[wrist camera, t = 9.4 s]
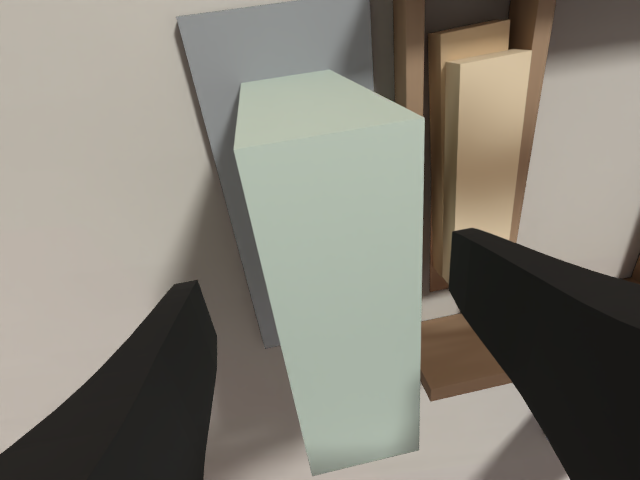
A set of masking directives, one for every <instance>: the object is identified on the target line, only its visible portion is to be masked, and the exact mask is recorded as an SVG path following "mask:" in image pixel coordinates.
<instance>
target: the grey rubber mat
mask: <svg viewBox="0 0 640 480" xmlns="http://www.w3.org/2000/svg"><path fill="white" fill-rule="evenodd" d="M176 18H177V22H178V26H179V29H180V33H181V37H182V41H183V44H184V48H185V52H186V55H187V59H188V63H189V67H190V70H191V74H192V78H193V82H194V85H195V89H196V93H197V97H198V100H199V104H200V108H201V111H202V115H203V119H204V123H205V126H206V130H207V134H208V138H209V141H210V145H211V149H212V153H213V156H214V160H215V164H216V168H217V171H218V175H219V179H220V182H221V186H222V190H223V194H224V197H225V201H226V205H227V209H228V212H229V216H230V220H231V224H232V227H233V231H234V235H235V239H236V242H237V246H238V250H239V253H240V257H241V261H242V265H243V268H244V272H245V276H246V280H247V283H248V287H249V291H250V295H251V298H252V302H253V306H254V309H255V313H256V317H257V321H258V324H259V328H260V332H261V336H262V339H263V343H264V347H265V349H266V348H271V347H276V346H280V340H279V336H278V332H277V328H276V324H275V320H274V316H273V311H272V307H271V303H270V299H269V295H268V291H267V287H266V282H265V278H264V274H263V270H262V266H261V262H260V257H259V253H258V249H257V245H256V241H255V237H254V233H253V228H252V224H251V220H250V216H249V212H248V208H247V204H246V199H245V195H244V191H243V187H242V183H241V179H240V175H239V170H238V166H237V162H236V158H235V154H234V141H235V132H236V123H237V115H238V106H239V97H240V88H241V83H245V82H251V81H258V80H264V79H271V78H277V77H284V76H290V75H297V74H303V73H310V72H316V71H323V70H329V69H330V70H332V71H333V72H335V73H337V74H339V75H341V76H343V77H345V78H347V79H349V80H351V81H353V82H355V83H357V84H359V85H361V86H363V87H365V88H367V89H369V90H371V91H373V92H374V84H373V61H372V39H371V16H370V0H297V1H290V2H282V3H275V4H267V5H260V6H252V7H245V8H237V9H230V10H222V11H215V12H207V13H200V14H192V15H185V16H177V17H176Z"/></svg>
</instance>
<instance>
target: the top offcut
mask: <svg viewBox="0 0 640 480" xmlns="http://www.w3.org/2000/svg"><path fill="white" fill-rule="evenodd" d="M531 55H532V50H520V49H510V50H505V51H499V52H494V53H489V54H484V55H478V56H473V57H468V58H463V59H457V60H452V61H447V62H446V85H445V146H444V208H443V269H442V277H443V278H444V279H445V281H446V282H447V283H448V284H449V272H450V257H451V241H452V231H457V230H462V229H467V228H476V229H479V230H482V231H485V232H488V233H491V234H494V235H496V236H499V237H501V238H504V239H507V240H509V238H510V230H511V222H512V213H513V205H514V197H515V188H516V180H517V172H518V163H519V155H520V147H521V138H522V130H523V122H524V113H525V105H526V97H527V88H528V80H529V72H530V63H531Z"/></svg>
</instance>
